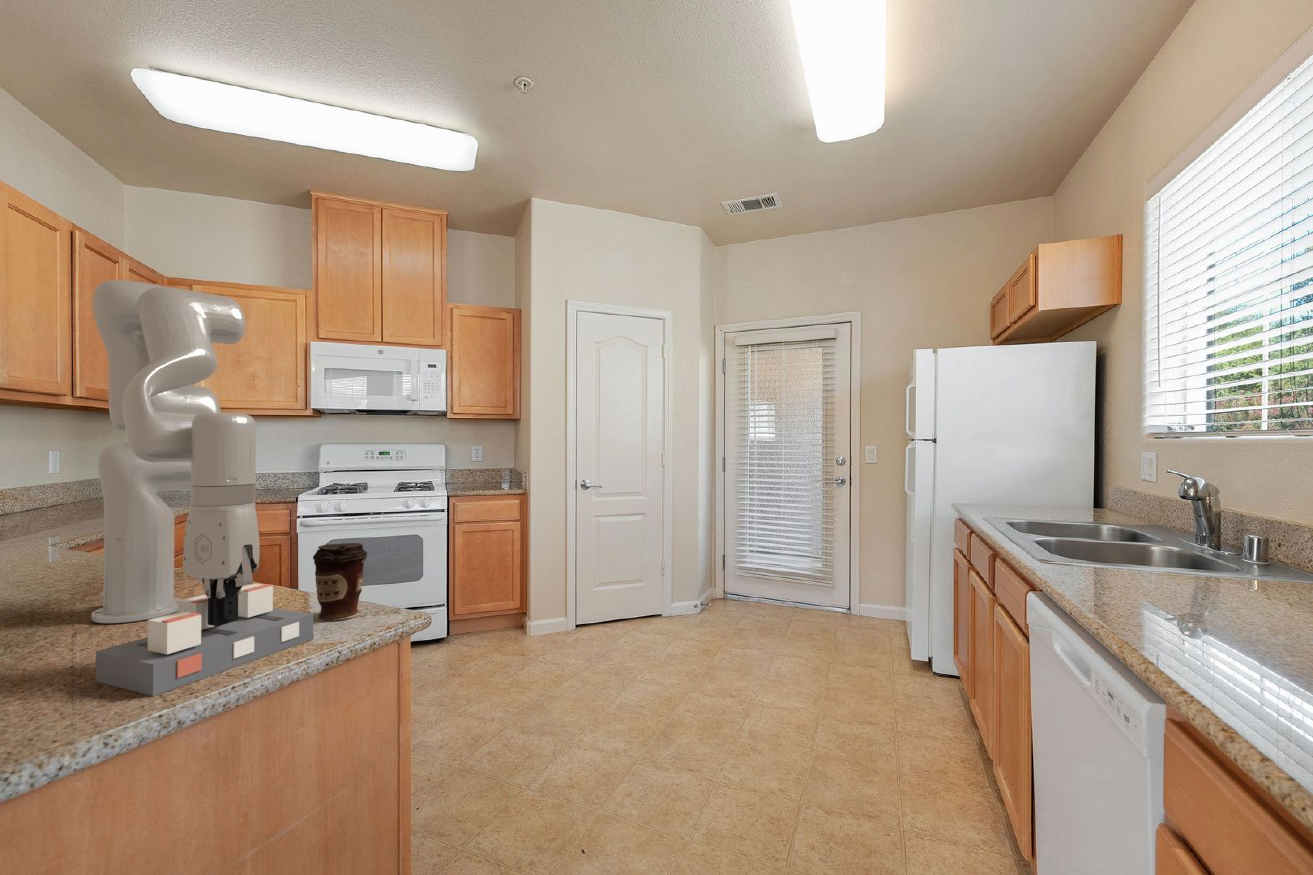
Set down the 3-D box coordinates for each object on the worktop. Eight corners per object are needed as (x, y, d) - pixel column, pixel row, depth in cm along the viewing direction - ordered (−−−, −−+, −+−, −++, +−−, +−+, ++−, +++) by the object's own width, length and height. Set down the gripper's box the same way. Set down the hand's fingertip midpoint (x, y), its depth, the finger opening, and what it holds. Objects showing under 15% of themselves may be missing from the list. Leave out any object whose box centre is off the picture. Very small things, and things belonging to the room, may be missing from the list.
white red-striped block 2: (230, 614, 90) (230, 588, 90) (255, 607, 94) (255, 582, 94) (247, 617, 88) (248, 590, 88) (272, 610, 92) (273, 584, 92)
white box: (147, 650, 75) (147, 618, 75) (181, 640, 78) (182, 609, 79) (167, 654, 73) (167, 621, 73) (200, 644, 77) (201, 613, 77)
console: (95, 681, 75) (96, 650, 75) (261, 629, 96) (261, 605, 96) (154, 696, 71) (154, 663, 71) (313, 638, 92) (314, 613, 92)
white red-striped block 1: (177, 628, 83) (178, 599, 83) (207, 619, 87) (207, 592, 87) (195, 631, 82) (196, 602, 82) (224, 623, 86) (225, 595, 86)
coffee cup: (340, 625, 98) (341, 550, 98) (299, 622, 100) (300, 548, 100) (375, 611, 107) (376, 542, 107) (337, 608, 108) (337, 540, 108)
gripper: (161, 497, 82) (160, 624, 82) (232, 501, 77) (230, 637, 77) (217, 493, 89) (216, 610, 89) (285, 496, 84) (284, 621, 84)
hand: (223, 622), depth 83 cm, fingers closed
